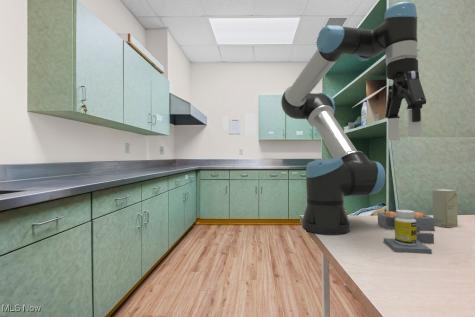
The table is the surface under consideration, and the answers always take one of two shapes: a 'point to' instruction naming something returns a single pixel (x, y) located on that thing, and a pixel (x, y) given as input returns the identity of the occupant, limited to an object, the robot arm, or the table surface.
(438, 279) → the table surface
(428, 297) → the table surface
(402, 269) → the table surface
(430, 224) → the plunger block
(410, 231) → the supplement bottle
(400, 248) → the pad
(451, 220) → the skincare box
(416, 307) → the table surface
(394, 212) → the plunger left
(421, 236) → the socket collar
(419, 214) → the plunger right
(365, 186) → the robot arm
